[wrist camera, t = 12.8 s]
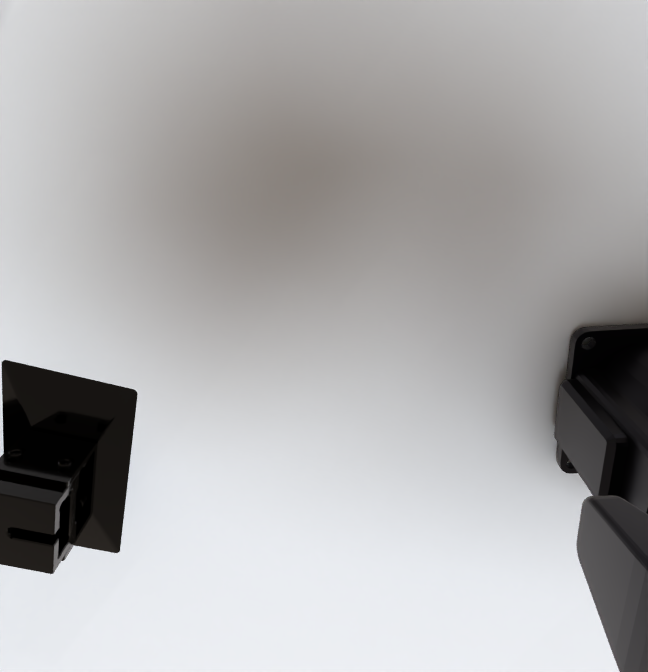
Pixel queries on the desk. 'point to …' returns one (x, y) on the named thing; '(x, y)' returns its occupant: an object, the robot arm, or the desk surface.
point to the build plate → (61, 465)
